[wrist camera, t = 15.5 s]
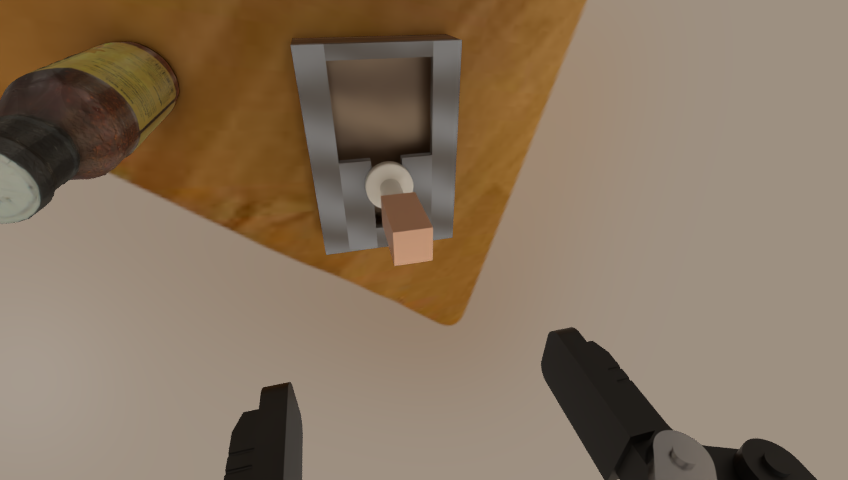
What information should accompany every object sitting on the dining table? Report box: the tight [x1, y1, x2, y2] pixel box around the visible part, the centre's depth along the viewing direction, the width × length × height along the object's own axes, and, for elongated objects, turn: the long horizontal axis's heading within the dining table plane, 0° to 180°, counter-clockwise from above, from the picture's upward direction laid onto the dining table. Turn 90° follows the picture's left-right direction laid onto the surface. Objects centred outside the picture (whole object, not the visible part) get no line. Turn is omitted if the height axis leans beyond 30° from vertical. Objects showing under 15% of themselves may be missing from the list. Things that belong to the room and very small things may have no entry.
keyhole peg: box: [365, 161, 433, 266], centre depth 34 cm, size 5×5×12 cm
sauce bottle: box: [0, 42, 179, 224], centre depth 25 cm, size 6×6×20 cm
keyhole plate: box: [291, 34, 462, 255], centre depth 39 cm, size 20×14×5 cm
